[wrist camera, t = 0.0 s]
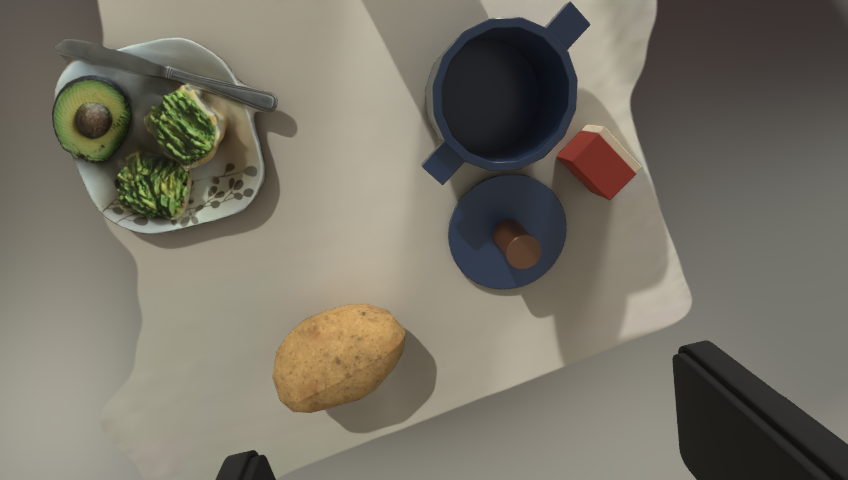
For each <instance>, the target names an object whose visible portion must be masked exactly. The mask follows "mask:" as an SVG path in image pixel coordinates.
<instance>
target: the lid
mask: <svg viewBox="0 0 848 480" xmlns="http://www.w3.org/2000/svg"><path fill="white" fill-rule="evenodd" d="M565 237H566V219H565V214H564V211H563V208H562V206H561V204H560V202H559V200H558V199H557V197H556V196H555V194H554V193H553V192H552V191H551V190H550V189H549V188H548V187H546V186H545V185H544V184H542V183H541V182H539V181H537V180H535V179H533V178H530V177H527V176H523V175H517V174H506V175H499V176H495V177H491V178H489V179H486V180H484V181H482V182H480V183H478V184H477V185H475V186H474V187H473V188H471V189H470V190H469V191H468V192H467V193H466V194H465V195H464V196H463V197H462V198H461V200H460V201H459V203H458V204H457V206H456V207H455V209H454V212H453V214H452V217H451V220H450V224H449V232H448V239H449V246H450V250H451V253H452V256H453V258H454V260H455V262H456V264H457V266H458V267H459V268H460V269H461V271H462V272H463V273H464V274H465V275H466V276H467V277H469V278H470V279H471V280H473V281H475V282H476V283H478V284H480V285H483V286H486V287H489V288H494V289H512V288H517V287H521V286H524V285H527V284H529V283H531V282H533V281H535V280H537V279H538V278H540V277H541V276H542V275H544V274H545V273H546V272H547V271H548V270H549V269H550V268H551V267H552V266H553V264H554V263H555V261H556V260H557V259H558V257H559V255H560V253H561V251H562V248H563V246H564V242H565Z"/></svg>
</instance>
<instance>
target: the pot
mask: <svg viewBox="0 0 848 480" xmlns="http://www.w3.org/2000/svg"><path fill="white" fill-rule="evenodd" d="M589 26H590V23H589V22H588V21H587V20H586V19H585V18H584V16H583V15H582V14H581V13H580V12H579V11H578V9H577V8H576V7H575V6H574V5H573V4H572V3H571V2H568V3H566V4H565V5H564V6H563V7H562V8H561V9H560V11H559V12H558V13H557V14H556V15H555V16H554V17H553V18H552V19H551V21H550V22H549V23H548V24H547V25H546V26H545V27H543V26H541V25H538V24H536V23H534V22H531V21H529V20H526V19H524V18H520V17H512V18H492V19H488V20H486V21H484V22H482V23H480V24H478V25H476V26H474V27H472V28H470V29H468V30H466V31H464V32H463V33H462V34H461V35H460V36H459V37H458V38H457V39H456V40H455V41H454V42H452V43H451V44H450V45H449V47H448V48H447V49H446V50H445V51H444V52H443V54H442V55H441V56H440V57H439V58H438V59H437V60H436V62H435V63H434V65H433V67H432V70H431V73H430V75H429V78H428V82H427V85H426V89H425V93H426V98H425V101H426V113H427V116H428V118H429V120H430V123H431V125H432V127H433V129H434V132H435V134H436V135H437V137H438V138H439V139H441V140H442V142H441V143H440V144H439V145H438V146H437V147H436V148H435V150H434V151H433V152H432V153H431V154H430V155H429V156H428V157H427V159H426V160H425V161H424V162H423V163H422V164H421V165H422V167H423V168H424V169H425V170H426V171H427V172H428V173H429V174H431V175H432V176H433V177H434V178H435V179H436V180H437V181H438V182H439V183H441V184H442V185H443V184H444V183H445V182H446V181H447V180H448V179H449V178H450V177H451V176H452V175H453V174H454V173H455V171H456V170H457V169H458V168H459V167H460V166H461V165H462V164H463V163H464V162H465V161H466V162H468V163H470V164H473V165H476V166H479V167H481V168H484V169H487V170H490V171H502V170H518V169H521V168H523V167H525V166H527V165H529V164H532V163H534V162H536V161H538V160H540V159H542V158H544V157H545V156H546V155H547V154H548V153H549V152H550V151H551V150H552V149H553V148H554V147H555V146H556V144H557V143H558V142H559V141H560V140H561V139H562V138H563V137H564V136H565V134H566V131H567V129H568V127H569V124H570V122H571V120H572V117H573V115H574V113H575V111H576V99H577V76H576V73H575V70H574V67H573V64H572V61H571V58H570V55H569V52H568V51H567V50H568V49H569V48H570V46H571V45H572V44H573V43H574V42H575V41H576V40H577V39H578V38H579V37H580V36H581V35H582V33H583V32H584V31H585V30H586V29H587V28H588V27H589Z"/></svg>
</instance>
